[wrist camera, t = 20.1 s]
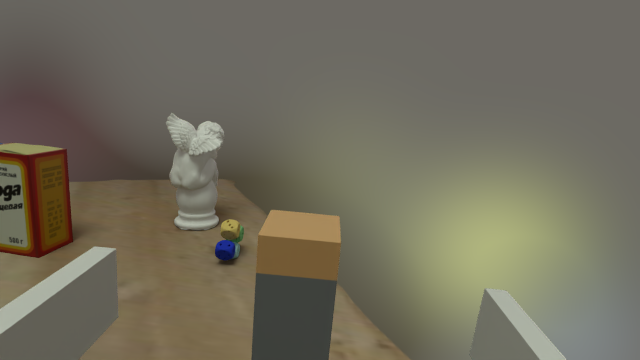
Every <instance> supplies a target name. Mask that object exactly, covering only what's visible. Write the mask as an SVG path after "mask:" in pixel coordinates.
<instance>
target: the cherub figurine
mask: <svg viewBox="0 0 640 360" xmlns="http://www.w3.org/2000/svg"><path fill="white" fill-rule="evenodd" d="M166 125H167V126H168V130H170V134H171V135H172V136H171V138H172V139H173V142H174V143H175V146H176V147H178V149H177V151H176V153H175V156H174V160H173V167H172V169H171V171H170V180H171V183H172V185H173V186H174V187H175V188H178V189H177V192H176V201H177V204H178V207H179V208H180V210H179V211H178V214H179V216H178V217H176V218H175V220H174V223H175V225H176V226H177V227H179V228H180V229H184V230H188V229H191V230H203V229H204V230H208V229H210V228H213V227H215V226H216V225H217V224H218V222H219V218H218V217H217V216H216V215H214V214H215V209H214V207H215V204H216V201H217V190H216V186H217V179H218V170H217V167H216V162H215V160H214V159H216V158H217V151H218V150H219V148H220V147H222V143H223V138H224V131H223V129H222V128H221V126H220V125H218V124H216V123H212V122H210V121H207V122H204V123H202V124H201V125H199V127H198V129H197V131H196V130H195V128H194V126H193V125H191V124H190V123H188V122H187V121H184V120H181V119H179V118H178V117H176V116H175V115H174V114H173V113H171V115H170V117H168V121H167V122H166Z"/></svg>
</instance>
